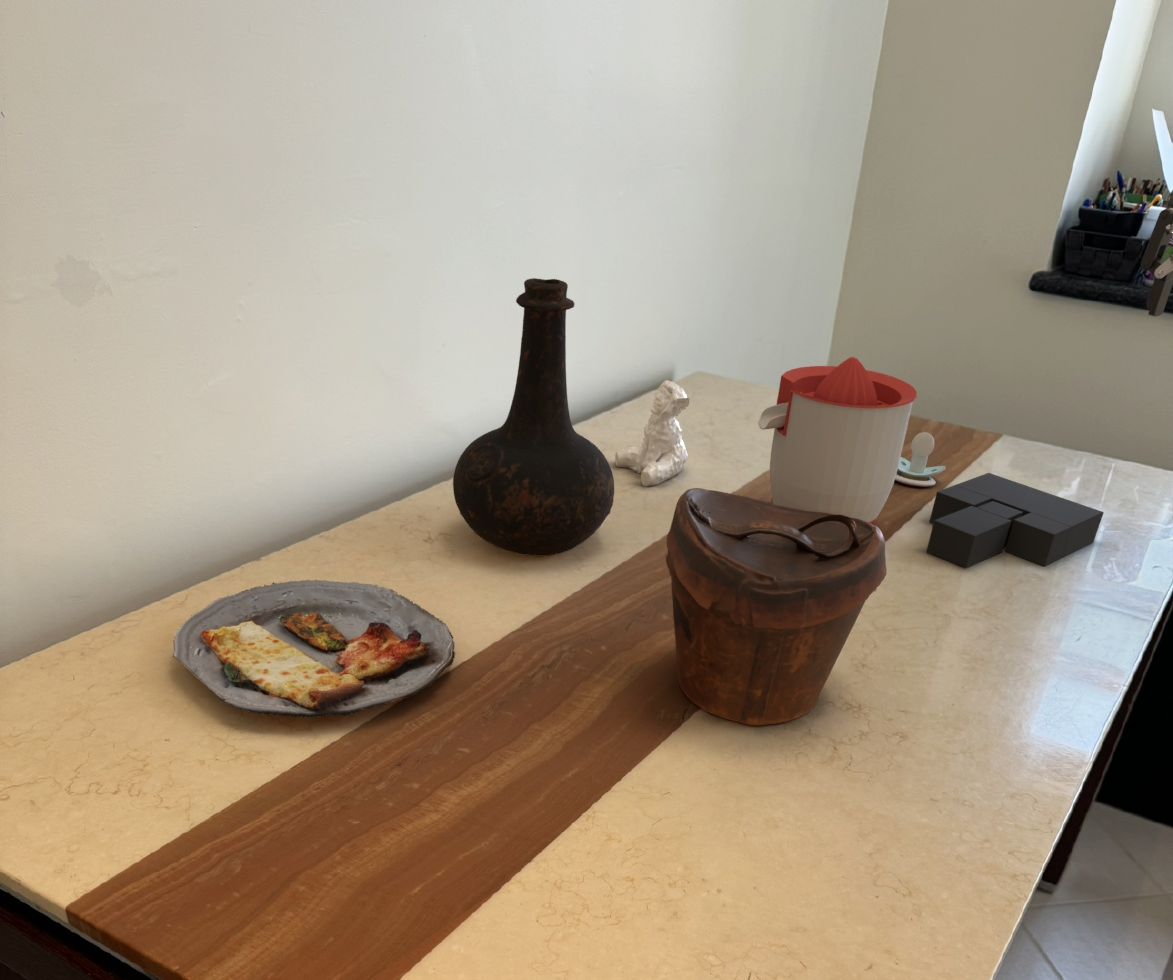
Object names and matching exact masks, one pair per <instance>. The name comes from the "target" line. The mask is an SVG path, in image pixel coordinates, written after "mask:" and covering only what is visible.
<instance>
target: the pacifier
mask: <svg viewBox="0 0 1173 980" xmlns="http://www.w3.org/2000/svg"><path fill="white" fill-rule="evenodd" d="M934 448H935V439H934V437H933V435H932V434H931V433H929V432H927V431H923V432H919V433H918V434H916V435H915V436H914V437H913V439H912V441H911V444H910V450H911V452H912V454H911V459H910V461H909V460H908V459H906V458H904V457H902V456H901V457H900V462H899V466H898V470H897V473H896V477H895V480H894V481H896V482H899V483H902V484H905V485H909V486H916V487H932V486H935V485H936V480H935V479H934V478H933V477H932V476H935V475H938V474H940V473H942V472H944V471H945V470H946V468H947V466H946V465H937V466H928V467H927V463H928V460H929V459H928V458H929V456H930V455H931V453H932V452H933V450H934Z"/></svg>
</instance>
